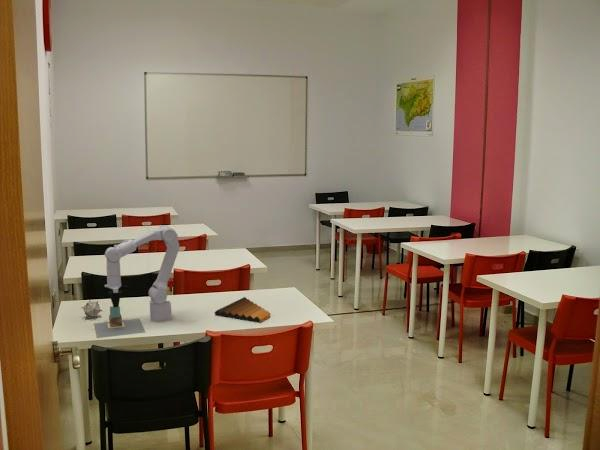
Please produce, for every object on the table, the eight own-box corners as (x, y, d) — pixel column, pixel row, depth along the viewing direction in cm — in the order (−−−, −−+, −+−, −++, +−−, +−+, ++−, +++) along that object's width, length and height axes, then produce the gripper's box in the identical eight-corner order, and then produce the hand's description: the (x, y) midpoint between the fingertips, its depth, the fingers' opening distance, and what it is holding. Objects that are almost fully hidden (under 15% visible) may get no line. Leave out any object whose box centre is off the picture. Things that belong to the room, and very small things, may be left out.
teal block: (119, 314, 270) (119, 305, 270) (120, 317, 267) (119, 308, 266) (110, 315, 269) (109, 306, 268) (110, 318, 265) (110, 309, 265)
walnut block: (120, 322, 272) (120, 314, 271) (122, 325, 267) (121, 317, 267) (109, 323, 270) (108, 315, 269) (110, 327, 265) (110, 318, 265)
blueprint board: (139, 320, 278) (139, 318, 278) (145, 334, 260) (145, 331, 260) (93, 325, 271) (93, 323, 271) (96, 339, 253) (96, 337, 252)
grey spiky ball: (91, 326, 280) (80, 313, 274) (85, 315, 286) (75, 303, 280) (108, 315, 283) (98, 302, 276) (102, 305, 289) (92, 292, 282)
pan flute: (241, 302, 309) (214, 316, 286) (241, 296, 308) (214, 309, 286) (285, 309, 298) (260, 324, 276) (285, 302, 297) (260, 317, 275)
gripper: (102, 271, 270) (104, 300, 272) (105, 279, 257) (106, 310, 259) (119, 270, 273) (120, 299, 275) (122, 277, 259) (123, 308, 261)
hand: (115, 304), depth 267 cm, fingers open, 7 cm apart
